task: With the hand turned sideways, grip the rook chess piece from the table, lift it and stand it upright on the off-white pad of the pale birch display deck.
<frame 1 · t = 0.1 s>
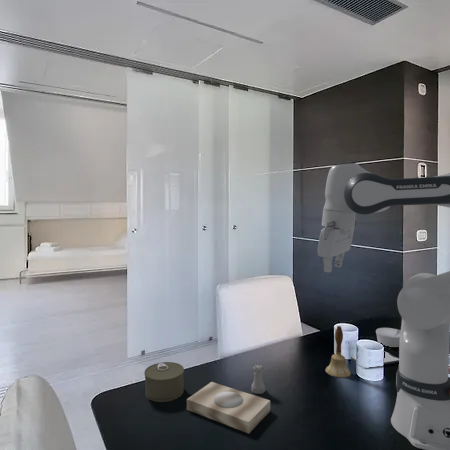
hand: (332, 269, 104), 39 cm above the table, tool pointing down, fingers open, 8 cm apart
phone case: (375, 362, 133), on the table
can: (164, 392, 112), on the table
hand bell: (338, 372, 125), on the table
ramekin: (390, 345, 149), on the table
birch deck: (228, 410, 102), on the table
rook chess piece: (258, 391, 113), on the table
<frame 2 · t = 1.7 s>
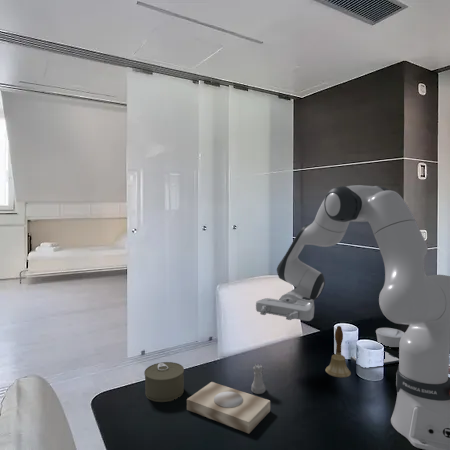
hand: (274, 315, 121), 21 cm above the table, tool horizontal, fingers open, 8 cm apart
nothing on the table moved.
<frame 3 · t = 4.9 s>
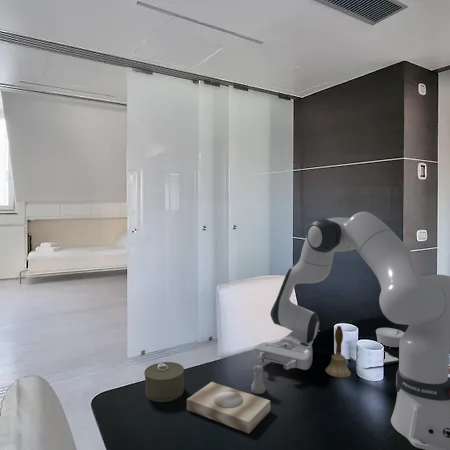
hand: (272, 363, 120), 5 cm above the table, tool horizontal, fingers open, 8 cm apart
nothing on the table moved.
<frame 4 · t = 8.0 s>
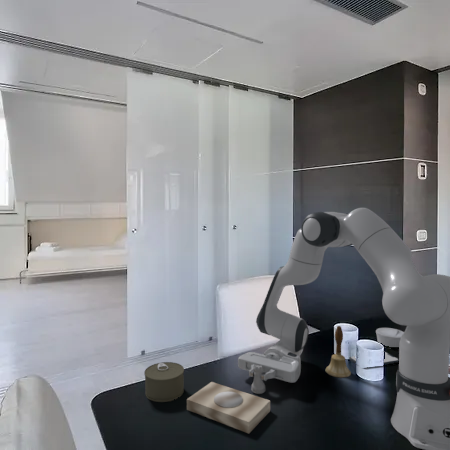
hand: (256, 376, 112), 5 cm above the table, tool horizontal, fingers closed on rook chess piece, 3 cm apart
rook chess piece: (258, 391, 113), on the table, touching gripper
everything else where it was.
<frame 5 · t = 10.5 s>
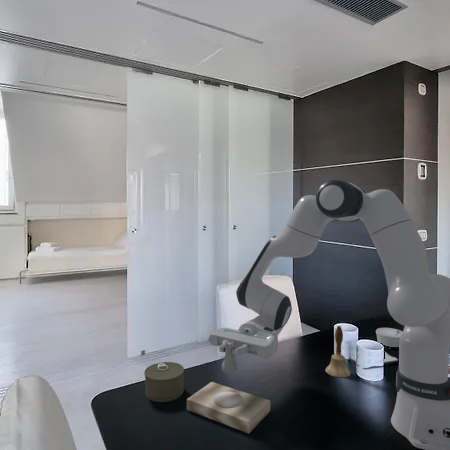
hand: (227, 351, 101), 17 cm above the table, tool horizontal, fingers closed on rook chess piece, 3 cm apart
rook chess piece: (229, 370, 102), point 11 cm above the table, touching gripper
everything else where it was.
when the fingers open (9 cm above the table, at t = 13.2 s): rook chess piece stays where it is, resting on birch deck.
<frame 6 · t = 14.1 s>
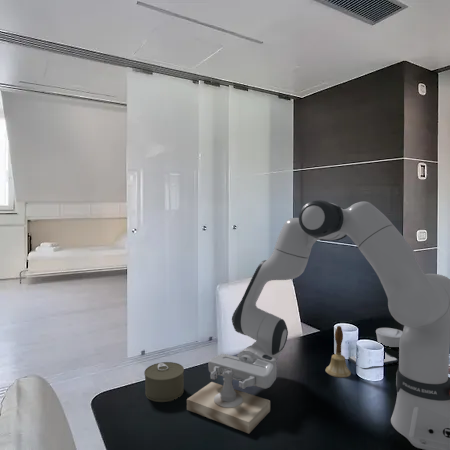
hand: (226, 381, 101), 9 cm above the table, tool horizontal, fingers open, 8 cm apart
rook chess piece: (228, 399, 102), point 3 cm above the table, touching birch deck
everything else where it was.
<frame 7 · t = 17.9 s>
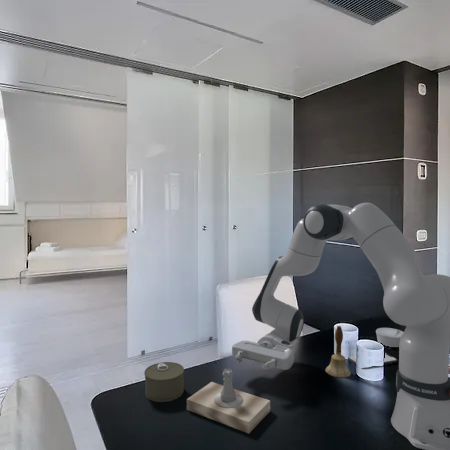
hand: (250, 363, 112), 9 cm above the table, tool horizontal, fingers open, 8 cm apart
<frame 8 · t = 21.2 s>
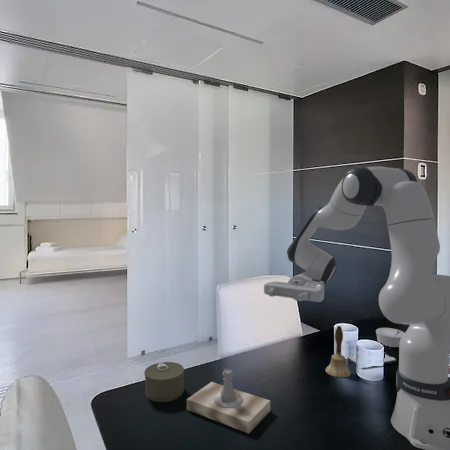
hand: (284, 296, 117), 28 cm above the table, tool horizontal, fingers open, 8 cm apart
at the end: rook chess piece inside the target area on the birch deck (0.1 cm from its centre), point 3.1 cm above the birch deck's base; rook chess piece tilted 0°; the gripper is holding nothing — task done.
